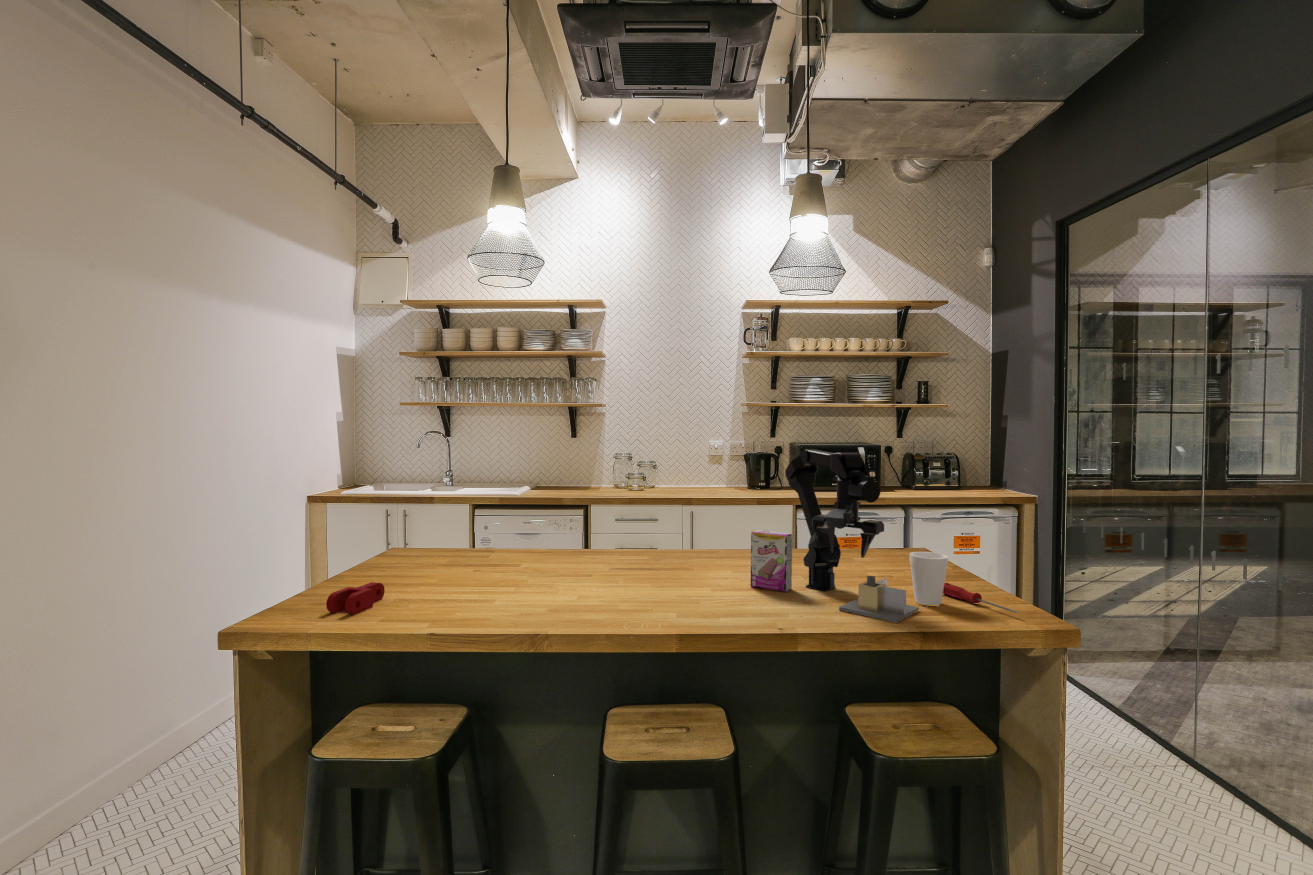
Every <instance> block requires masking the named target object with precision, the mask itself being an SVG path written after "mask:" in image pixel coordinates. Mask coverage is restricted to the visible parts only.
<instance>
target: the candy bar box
mask: <svg viewBox="0 0 1313 875" xmlns="http://www.w3.org/2000/svg"><path fill="white" fill-rule="evenodd" d="M750 539H751V540H750V542H751V543H750V588H755V589H756V588H757V589H762V590H768V589H769V590H770V591H774V590H776V591H775V592H781V591H783V592H782V593H787V592H789V591H790V590H792V585H793V584H792V583H793V582H792V578H793V575H792V573H793V569H792V568H793V533H791V532H790V533H789V532H782V531H781V532H780V531H772V530H771V531H770V530H764V529H763V530H762V529H756V530H753V531H751V536H750ZM789 589H790V590H789ZM769 590H768V591H769ZM788 590H789V591H788ZM786 591H787V592H786Z"/></svg>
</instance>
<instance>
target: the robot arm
mask: <svg viewBox="0 0 1313 875" xmlns="http://www.w3.org/2000/svg"><path fill="white" fill-rule="evenodd" d="M810 463H811V464H810ZM819 465H820V466H824V467H828V468H830V470H831V471H833V472H834V473H836V474H835V476H833V478H832V480H833V481H835V482H836V501H834V504H833V509H831V510H829V512H828V513H826V514H822V511H821V508H820V504H819V502H818V499H817V495H816V493H815V490H814V486H815V483H816V474H817V473H818V472H819ZM784 474H785V477H786V480H787V482H788V485H789V487H791V488H792V489H793V490H794V491H795V493H797V495H798V499H799V502H800V506H801V509H802V512H803V515H804V518H805V521H806V524H807V525H806V526H807V528H808V532H809V536H810V539H809V541H808V545H807V547H808V551H807V553H806V554H805V555H804V557H803V559H802V560H803V565H804V567H807V568H808V584H806V585H805V588H808V587H811V588H810V589H813V588H816V589H815V590H818V589H821V590H820V591H823V590H827V591H829V590H831V589H830V588H832V589H834V588H833V587H835V586H836V585H835V572H834V568H839V564H840V559H841V554H842V552H841V549H840V548H841V545H840V544H839V541H838V537H837V535H836V534H835V533H836V529H838V530H839V529H841V530H842V529H844V528H853V529H859V530H861V531H862V532H860V533H859V535H860V538H861V546H860V557H861V558H862V559H864V558H865V557H866V555H867V552H868V550H869V548H870V546H871V544H872V542H873V540H874V538H875V537H876V536H878V535H880V534H881V533H882V532H883V533H884V532H885V524H884V522H883V521H882V520H876V519H875V520H874V519H867V520H864V521H861V516H859V507H860V506H861V502H866V503H870V504H871V503H874V502H877V501H878V499H879V498H880V495H881V488H880V485H879V484H878V483H877V482H876V481H875V480H874V479H875V477H874V476H872V475H870V471H869V469H868V468H867V466H866V463H865V460H864V458H863V457H862V455H861V453H860V452H835V453H834V452H830V451H823V450H819V449H817V448H806V449H803V450H802V451H801V453H800V454H799V455H797V456H796V457H795V458H793V459H792V460H790V461H789V463H788V465H787V467H786V469H785V471H784ZM835 588H836V587H835ZM828 589H829V590H828Z"/></svg>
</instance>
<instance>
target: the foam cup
mask: <svg viewBox="0 0 1313 875" xmlns="http://www.w3.org/2000/svg"><path fill="white" fill-rule="evenodd" d="M909 563H910V569H911V570H910V571H911V577H912V578H911V579H912V586H913V596H914V601H916V602H918V603H920V604H924V605H939V604H941V605H942V600H943V595H944V594H943V589H944V583H946V581H945V580H946V577H947V576H946V575H947V568H948V566H949V556H948V555H946V554H943V553H938V552H934V551H932V552H931V551H913V552H909ZM916 602H915V603H916Z"/></svg>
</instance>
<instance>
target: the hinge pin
mask: <svg viewBox="0 0 1313 875" xmlns="http://www.w3.org/2000/svg"><path fill="white" fill-rule="evenodd" d="M866 581H867V585H869V586H874V587H875V582H876V576H875V575H867V576H866Z"/></svg>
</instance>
